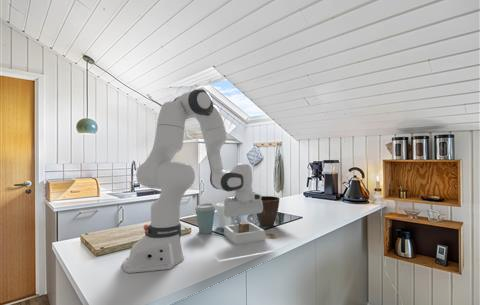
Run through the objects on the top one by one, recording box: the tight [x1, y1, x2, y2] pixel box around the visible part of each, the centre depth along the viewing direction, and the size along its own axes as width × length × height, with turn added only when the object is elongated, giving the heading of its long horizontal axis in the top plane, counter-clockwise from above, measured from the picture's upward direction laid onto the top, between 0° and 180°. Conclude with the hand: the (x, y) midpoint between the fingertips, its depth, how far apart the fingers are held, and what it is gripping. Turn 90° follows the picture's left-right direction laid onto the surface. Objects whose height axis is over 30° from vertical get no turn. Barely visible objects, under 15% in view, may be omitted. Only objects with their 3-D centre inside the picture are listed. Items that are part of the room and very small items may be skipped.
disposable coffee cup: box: [194, 202, 216, 235], centre depth 136 cm, size 11×11×15 cm
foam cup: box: [215, 202, 232, 229], centre depth 146 cm, size 10×9×13 cm
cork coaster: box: [265, 232, 279, 240], centre depth 129 cm, size 8×8×1 cm
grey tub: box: [223, 222, 266, 245], centre depth 127 cm, size 15×15×5 cm
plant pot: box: [256, 195, 281, 228], centre depth 149 cm, size 15×15×16 cm
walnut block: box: [237, 221, 250, 233], centre depth 127 cm, size 4×4×7 cm
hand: (244, 223), depth 128 cm, fingers open, 8 cm apart
